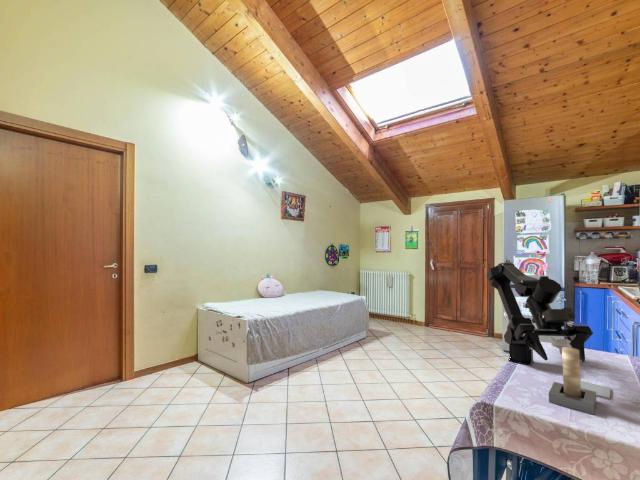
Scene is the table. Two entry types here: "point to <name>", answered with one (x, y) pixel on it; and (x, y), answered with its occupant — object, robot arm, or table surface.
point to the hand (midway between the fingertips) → (565, 360)
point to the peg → (571, 372)
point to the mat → (597, 389)
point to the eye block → (573, 399)
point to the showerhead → (560, 343)
